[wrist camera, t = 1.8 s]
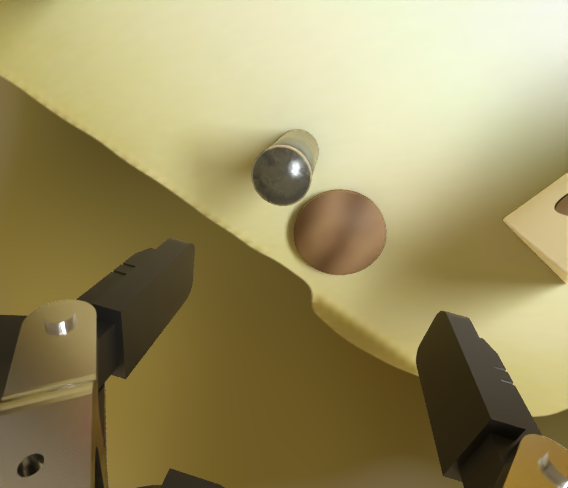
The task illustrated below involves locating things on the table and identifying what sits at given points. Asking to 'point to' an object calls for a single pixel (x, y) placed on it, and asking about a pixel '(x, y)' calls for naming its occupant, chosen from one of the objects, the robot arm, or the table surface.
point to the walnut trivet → (340, 232)
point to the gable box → (546, 225)
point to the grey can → (286, 168)
